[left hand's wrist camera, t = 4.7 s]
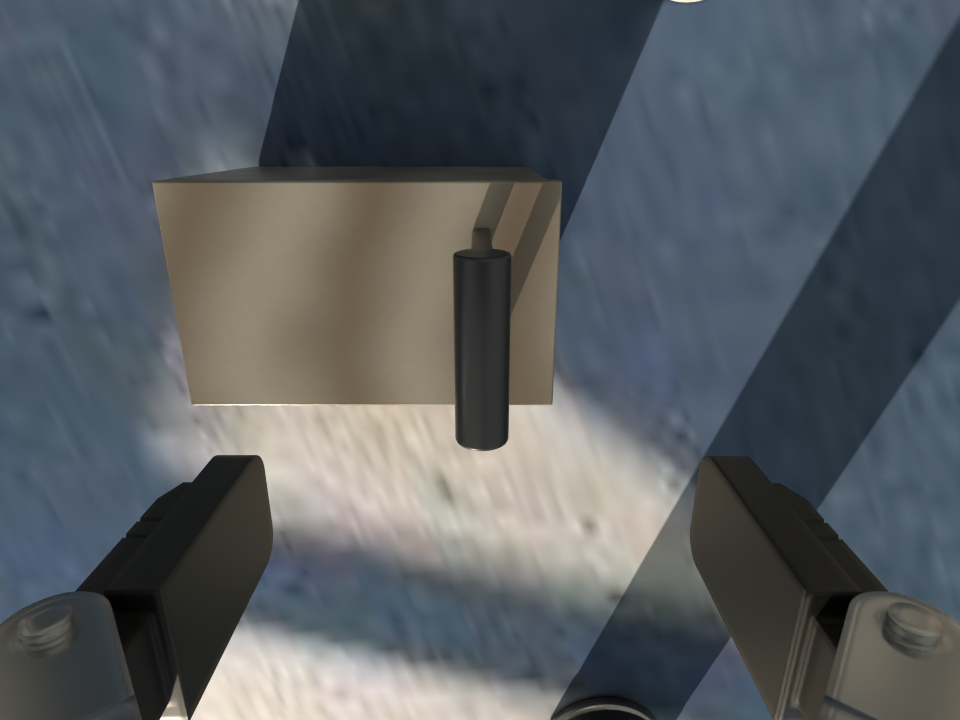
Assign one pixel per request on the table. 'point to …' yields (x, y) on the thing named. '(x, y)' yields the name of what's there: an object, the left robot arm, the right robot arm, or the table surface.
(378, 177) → the chest
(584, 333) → the table surface
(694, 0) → the coffee cup
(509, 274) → the lid
